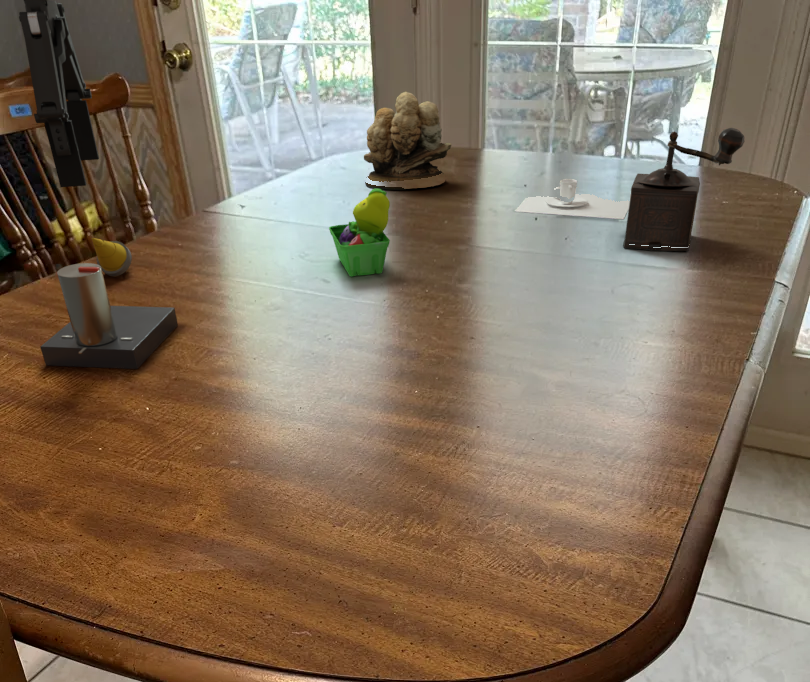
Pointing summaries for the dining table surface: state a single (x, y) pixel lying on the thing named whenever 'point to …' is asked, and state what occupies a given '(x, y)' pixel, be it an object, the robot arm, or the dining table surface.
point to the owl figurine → (405, 142)
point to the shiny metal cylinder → (87, 304)
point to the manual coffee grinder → (671, 198)
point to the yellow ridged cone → (112, 256)
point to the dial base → (128, 351)
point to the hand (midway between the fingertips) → (81, 172)
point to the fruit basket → (364, 236)
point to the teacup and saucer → (575, 204)
